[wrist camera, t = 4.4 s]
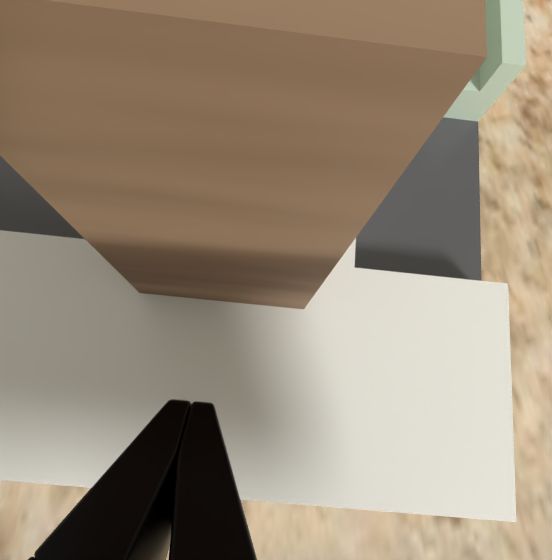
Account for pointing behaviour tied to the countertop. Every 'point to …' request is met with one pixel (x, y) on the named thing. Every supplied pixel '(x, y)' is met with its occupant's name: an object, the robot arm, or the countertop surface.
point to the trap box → (285, 346)
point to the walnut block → (227, 128)
